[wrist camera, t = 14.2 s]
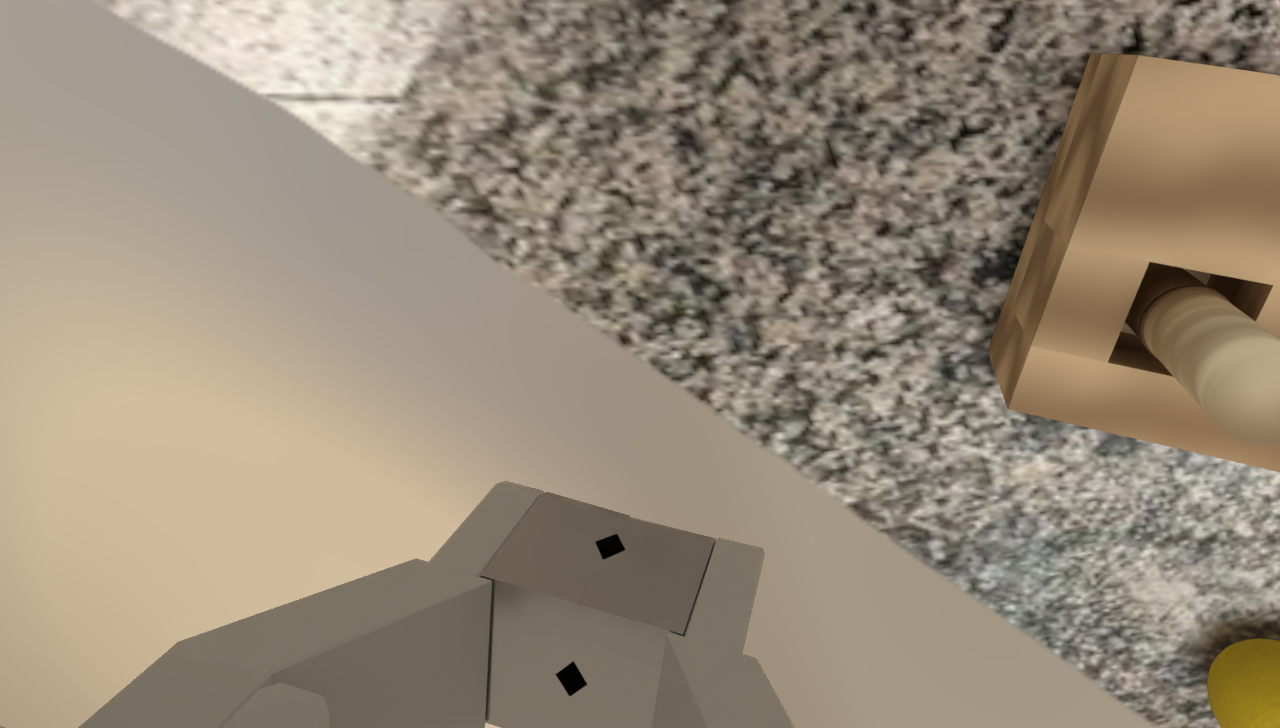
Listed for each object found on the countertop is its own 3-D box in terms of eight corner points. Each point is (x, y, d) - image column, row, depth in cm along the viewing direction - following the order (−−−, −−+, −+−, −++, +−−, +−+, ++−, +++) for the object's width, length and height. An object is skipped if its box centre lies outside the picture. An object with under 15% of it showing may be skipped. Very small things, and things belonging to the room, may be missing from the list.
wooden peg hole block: (1090, 53, 34) (1215, 58, 21) (1412, 99, 31) (1765, 135, 19) (987, 351, 39) (1037, 493, 27) (1252, 409, 37) (1443, 595, 25)
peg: (1122, 248, 34) (1233, 340, 24) (1200, 262, 34) (1351, 364, 23) (1096, 315, 36) (1190, 431, 25) (1171, 330, 35) (1301, 456, 24)
